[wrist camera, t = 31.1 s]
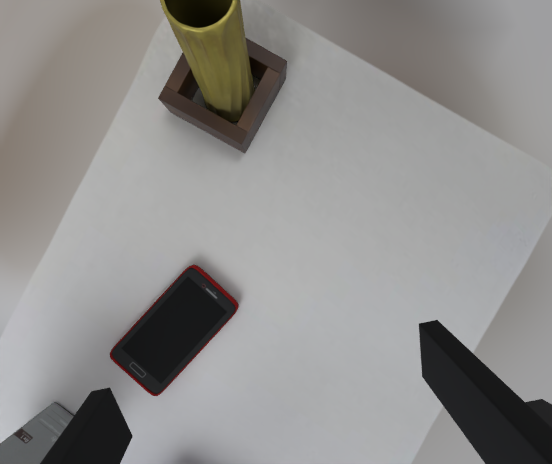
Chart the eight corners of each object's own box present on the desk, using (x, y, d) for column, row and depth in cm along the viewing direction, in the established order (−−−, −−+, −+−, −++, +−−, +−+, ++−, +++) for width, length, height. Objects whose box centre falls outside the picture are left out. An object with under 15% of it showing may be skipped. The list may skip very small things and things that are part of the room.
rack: (211, 37, 32) (203, 13, 28) (285, 79, 32) (287, 60, 29) (170, 112, 32) (157, 98, 29) (245, 153, 32) (241, 144, 29)
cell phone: (110, 351, 32) (105, 355, 31) (194, 261, 32) (191, 262, 31) (158, 394, 33) (155, 400, 32) (242, 304, 32) (241, 307, 31)
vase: (197, 113, 32) (139, 22, 18) (212, 63, 32) (165, -69, 18) (247, 128, 32) (230, 50, 18) (262, 79, 32) (256, -41, 18)
